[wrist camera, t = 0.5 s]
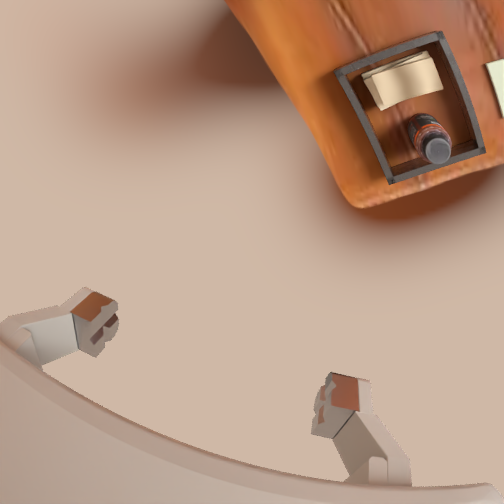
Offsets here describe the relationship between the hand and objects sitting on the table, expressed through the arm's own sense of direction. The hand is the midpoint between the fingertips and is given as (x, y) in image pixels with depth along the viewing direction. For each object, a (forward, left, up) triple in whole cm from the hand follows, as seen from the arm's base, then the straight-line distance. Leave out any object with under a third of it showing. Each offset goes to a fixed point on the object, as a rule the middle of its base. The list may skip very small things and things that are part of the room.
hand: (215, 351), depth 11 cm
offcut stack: (-12, +2, -49) cm, 50 cm away
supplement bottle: (-12, +12, -48) cm, 51 cm away
